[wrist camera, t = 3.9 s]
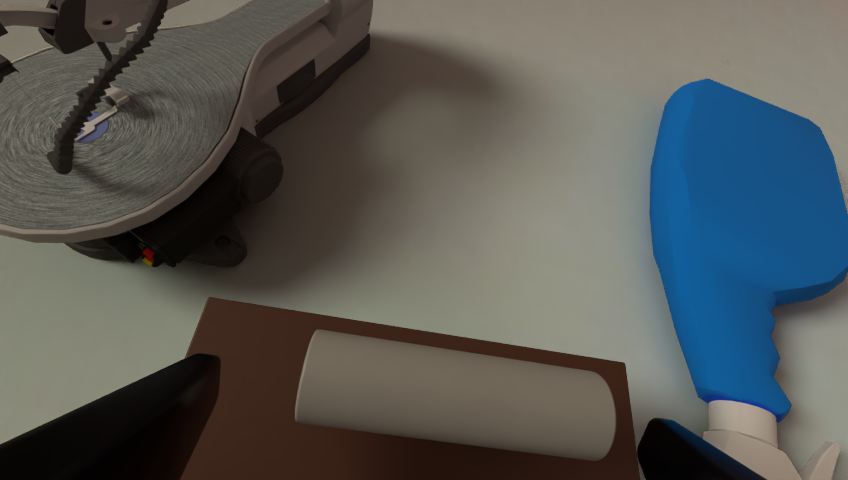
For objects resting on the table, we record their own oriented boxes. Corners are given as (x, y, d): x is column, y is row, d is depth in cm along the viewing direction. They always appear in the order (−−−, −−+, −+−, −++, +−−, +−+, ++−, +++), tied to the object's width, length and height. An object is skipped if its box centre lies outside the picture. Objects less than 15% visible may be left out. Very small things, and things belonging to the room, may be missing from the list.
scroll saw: (249, -263, 17) (480, -143, 15) (282, -10, 26) (428, 78, 25) (-563, -144, 7) (-141, 194, 6) (-57, 187, 16) (152, 348, 15)
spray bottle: (680, 63, 25) (654, 503, 13) (843, 128, 25) (959, 630, 13) (648, 98, 28) (604, 493, 16) (796, 158, 28) (859, 599, 16)
